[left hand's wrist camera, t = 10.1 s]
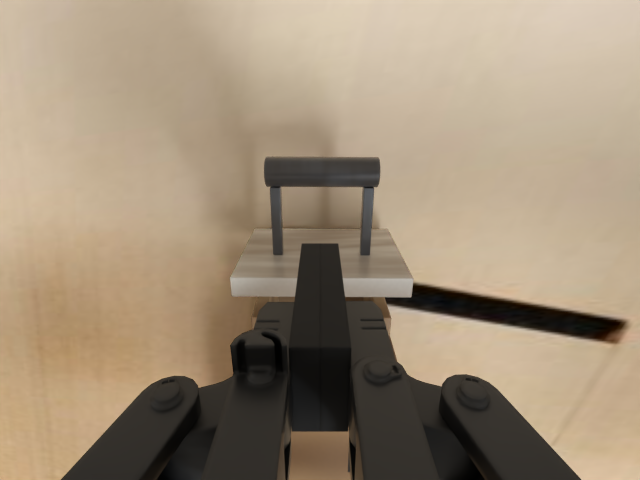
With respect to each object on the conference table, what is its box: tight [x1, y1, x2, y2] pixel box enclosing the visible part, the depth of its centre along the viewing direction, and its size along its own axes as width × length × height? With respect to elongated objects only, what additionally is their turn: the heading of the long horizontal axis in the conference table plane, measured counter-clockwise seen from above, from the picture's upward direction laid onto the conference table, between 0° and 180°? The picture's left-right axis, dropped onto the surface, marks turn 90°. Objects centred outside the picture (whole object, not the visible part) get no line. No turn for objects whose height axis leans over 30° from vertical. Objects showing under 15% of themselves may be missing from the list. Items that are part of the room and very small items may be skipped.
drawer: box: [230, 157, 413, 337], centre depth 25 cm, size 25×10×8 cm, turn 0°
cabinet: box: [289, 337, 397, 480], centre depth 30 cm, size 21×11×10 cm, turn 0°
